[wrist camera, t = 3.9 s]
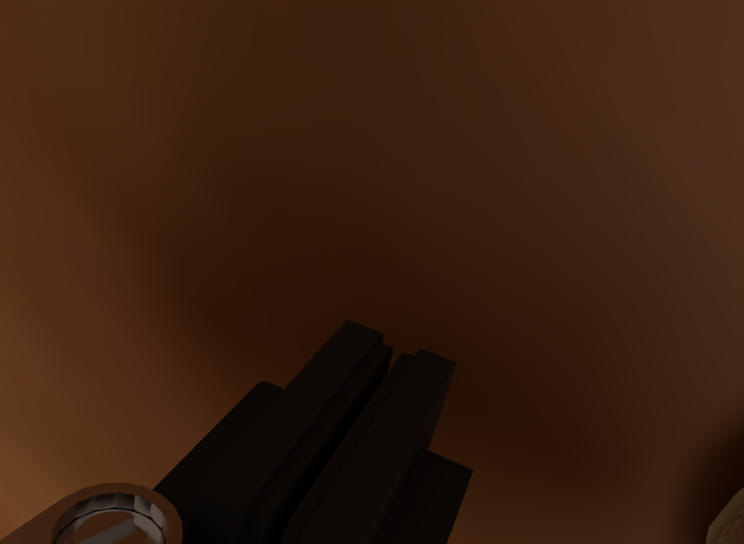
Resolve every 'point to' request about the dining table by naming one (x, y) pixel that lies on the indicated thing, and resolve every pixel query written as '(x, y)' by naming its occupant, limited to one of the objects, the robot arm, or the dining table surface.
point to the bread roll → (729, 523)
